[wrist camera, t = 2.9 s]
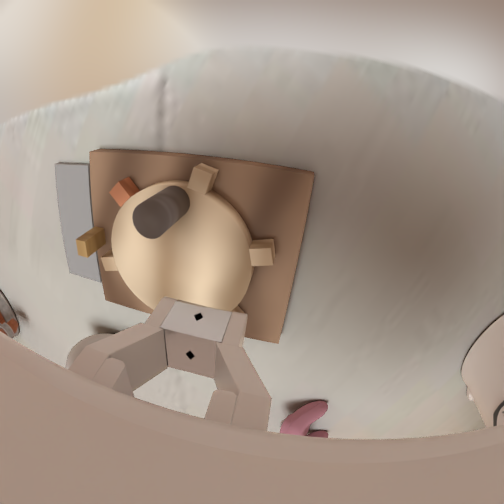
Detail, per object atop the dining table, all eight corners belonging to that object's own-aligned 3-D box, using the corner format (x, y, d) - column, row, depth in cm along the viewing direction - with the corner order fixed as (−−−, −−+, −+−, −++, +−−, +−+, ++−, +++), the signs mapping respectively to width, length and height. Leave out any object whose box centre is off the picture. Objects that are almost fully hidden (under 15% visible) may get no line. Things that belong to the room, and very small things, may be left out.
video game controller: (299, 389, 35) (268, 429, 30) (330, 400, 32) (301, 444, 27) (304, 425, 39) (279, 459, 34) (330, 435, 36) (306, 471, 31)
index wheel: (288, 175, 20) (282, 196, 15) (260, 338, 27) (249, 383, 22) (103, 155, 22) (59, 170, 17) (117, 302, 29) (89, 335, 24)
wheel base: (313, 171, 21) (315, 185, 17) (279, 333, 29) (274, 366, 25) (99, 148, 23) (67, 158, 19) (112, 292, 31) (91, 315, 27)
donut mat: (91, 164, 24) (88, 165, 23) (103, 279, 30) (100, 282, 29) (58, 162, 24) (54, 164, 24) (72, 270, 30) (69, 272, 30)
